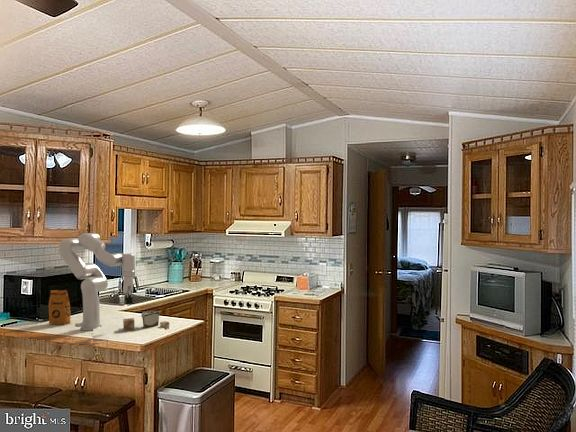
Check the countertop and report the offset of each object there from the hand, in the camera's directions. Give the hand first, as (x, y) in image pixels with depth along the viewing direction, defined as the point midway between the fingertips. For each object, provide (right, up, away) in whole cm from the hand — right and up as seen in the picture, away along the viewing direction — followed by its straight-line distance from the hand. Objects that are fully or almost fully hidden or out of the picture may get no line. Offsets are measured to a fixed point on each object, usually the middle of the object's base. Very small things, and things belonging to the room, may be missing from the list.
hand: (129, 302), depth 286 cm
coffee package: (-52, -18, +22) cm, 60 cm away
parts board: (0, -17, 0) cm, 17 cm away
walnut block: (0, -16, 0) cm, 16 cm away
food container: (+9, -18, +8) cm, 22 cm away
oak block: (+20, -17, +7) cm, 27 cm away
